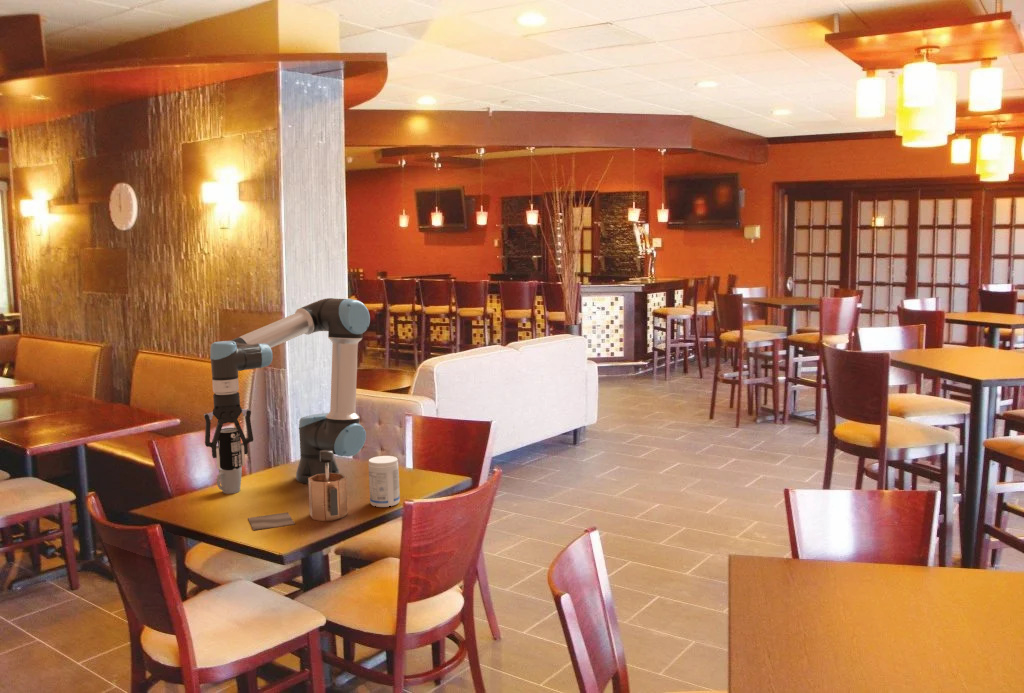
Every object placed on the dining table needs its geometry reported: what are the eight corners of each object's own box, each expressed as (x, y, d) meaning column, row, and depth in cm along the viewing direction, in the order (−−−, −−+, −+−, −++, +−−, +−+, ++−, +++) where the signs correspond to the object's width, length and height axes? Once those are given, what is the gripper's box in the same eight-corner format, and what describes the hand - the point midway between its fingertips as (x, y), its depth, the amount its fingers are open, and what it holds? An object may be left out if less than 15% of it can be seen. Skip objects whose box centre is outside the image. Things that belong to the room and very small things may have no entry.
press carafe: (307, 513, 263) (306, 475, 262) (341, 508, 267) (340, 471, 266) (316, 526, 251) (315, 486, 249) (352, 520, 255) (351, 482, 254)
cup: (247, 489, 289) (246, 465, 288) (227, 497, 280) (226, 472, 279) (230, 487, 292) (229, 463, 291) (209, 495, 283) (208, 470, 282)
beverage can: (219, 466, 260) (216, 428, 259) (241, 464, 262) (239, 426, 261) (220, 471, 254) (217, 433, 252) (242, 469, 256) (240, 430, 255)
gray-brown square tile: (248, 518, 258) (248, 517, 258) (287, 513, 263) (287, 512, 263) (253, 530, 247) (253, 529, 247) (295, 524, 252) (295, 523, 252)
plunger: (313, 504, 262) (311, 450, 260) (337, 500, 265) (335, 447, 263) (318, 510, 255) (316, 455, 253) (343, 507, 258) (341, 452, 256)
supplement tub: (390, 497, 279) (388, 453, 277) (405, 504, 271) (404, 459, 269) (364, 503, 272) (362, 458, 271) (379, 510, 265) (377, 464, 263)
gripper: (192, 397, 248) (198, 473, 251) (261, 391, 256) (265, 465, 259) (190, 393, 255) (196, 467, 258) (257, 387, 263) (261, 459, 266)
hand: (230, 466), depth 258 cm, fingers closed on beverage can, 7 cm apart
